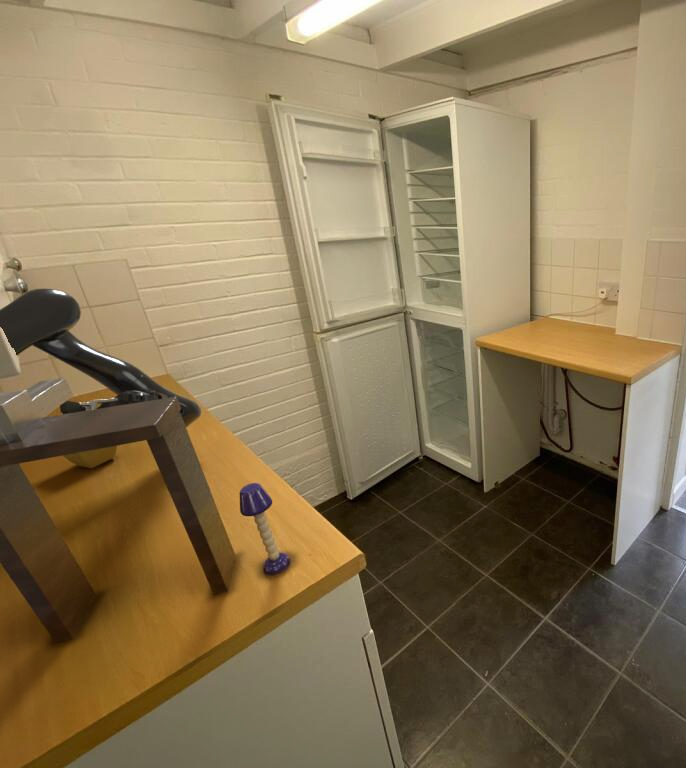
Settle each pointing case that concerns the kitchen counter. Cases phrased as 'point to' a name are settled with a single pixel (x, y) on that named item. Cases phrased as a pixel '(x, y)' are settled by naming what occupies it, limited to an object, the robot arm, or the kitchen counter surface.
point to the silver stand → (30, 408)
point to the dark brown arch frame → (43, 540)
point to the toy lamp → (263, 525)
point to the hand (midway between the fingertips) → (95, 402)
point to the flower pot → (92, 457)
